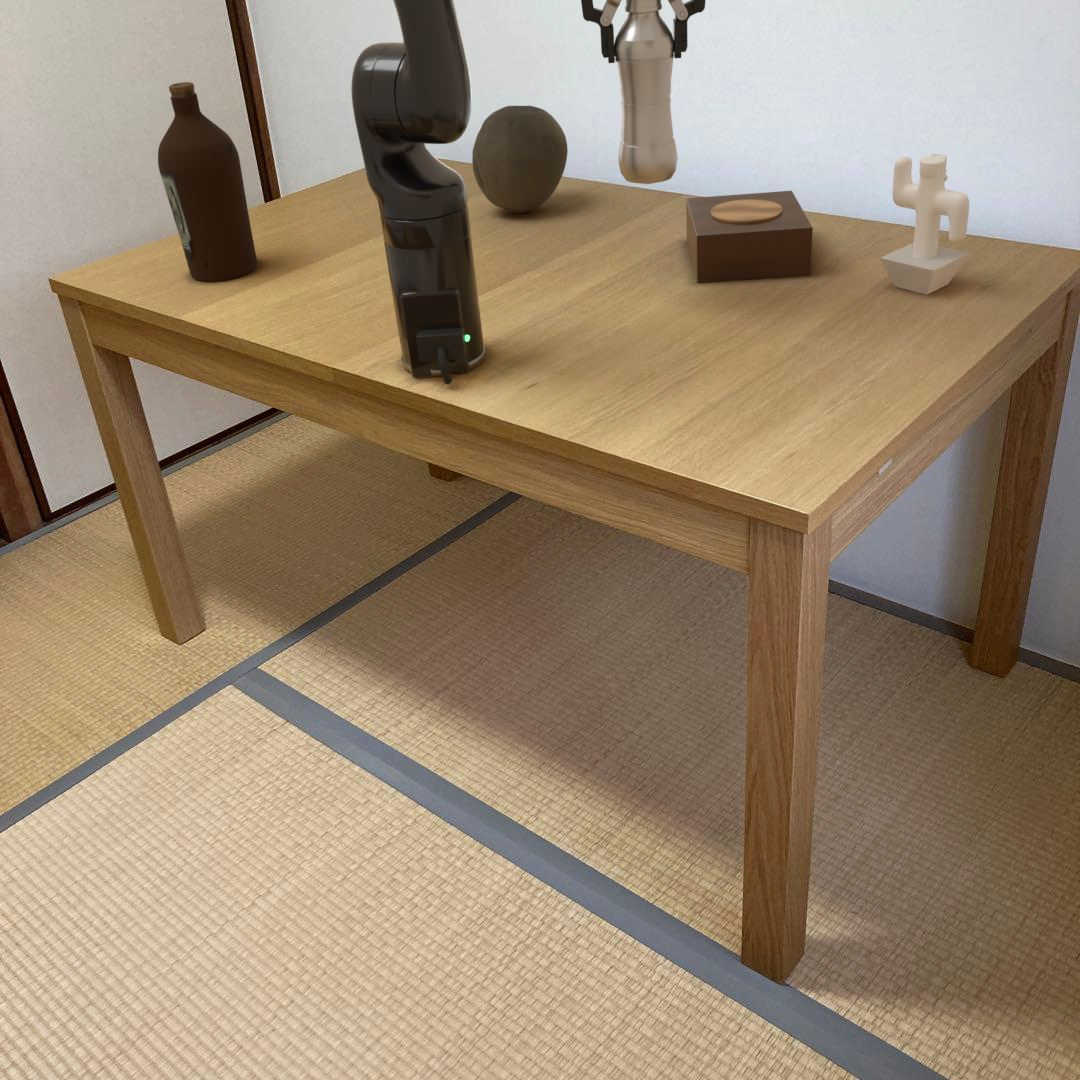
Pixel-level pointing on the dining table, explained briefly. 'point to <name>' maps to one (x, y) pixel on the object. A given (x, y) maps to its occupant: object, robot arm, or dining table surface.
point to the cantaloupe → (519, 157)
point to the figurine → (927, 226)
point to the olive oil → (205, 192)
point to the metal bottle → (645, 94)
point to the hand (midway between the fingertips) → (644, 59)
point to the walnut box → (748, 236)
